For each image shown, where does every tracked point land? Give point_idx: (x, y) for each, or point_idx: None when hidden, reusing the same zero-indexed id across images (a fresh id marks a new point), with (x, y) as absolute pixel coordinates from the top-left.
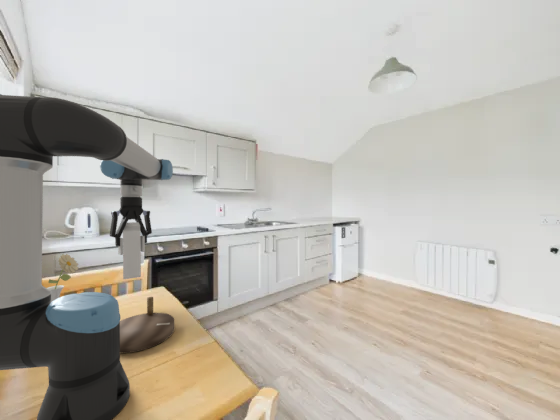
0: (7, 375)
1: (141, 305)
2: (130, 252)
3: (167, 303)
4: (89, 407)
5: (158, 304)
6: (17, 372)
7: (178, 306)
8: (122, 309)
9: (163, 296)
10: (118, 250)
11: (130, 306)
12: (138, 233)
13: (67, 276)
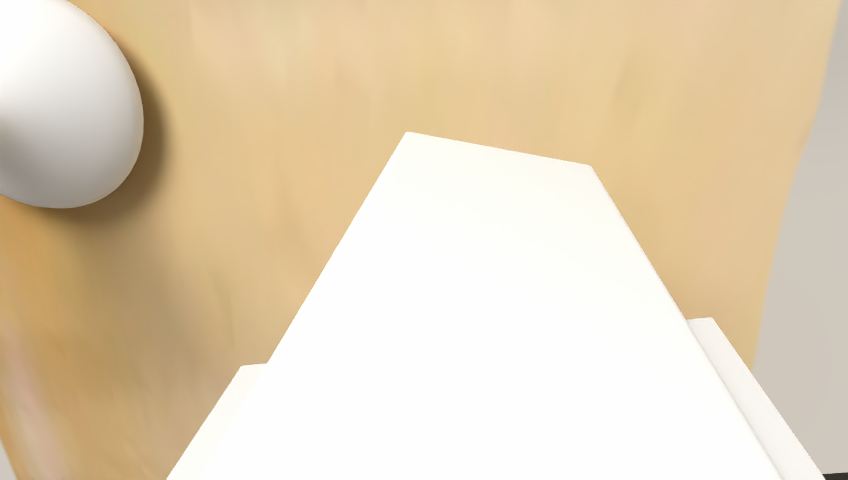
0: (18, 468)
1: (558, 102)
2: None
3: (726, 202)
4: None
5: (665, 174)
6: (42, 470)
7: (754, 313)
8: (425, 87)
9: (783, 4)
10: (216, 422)
11: (486, 62)
12: None
13: None
